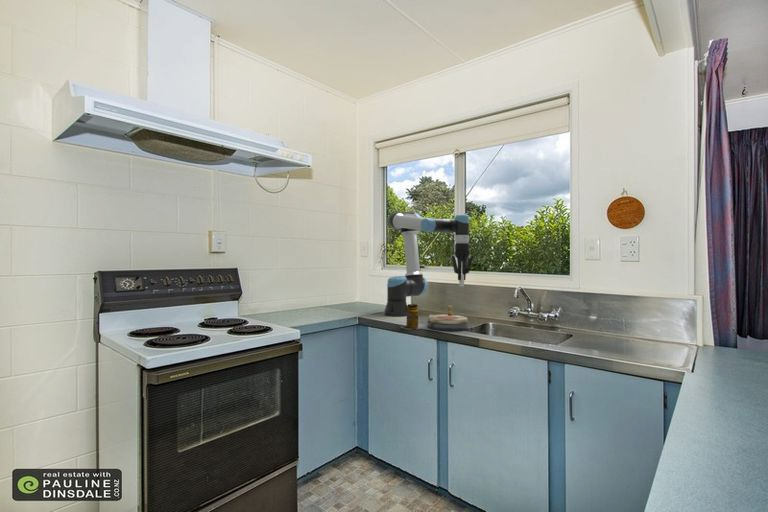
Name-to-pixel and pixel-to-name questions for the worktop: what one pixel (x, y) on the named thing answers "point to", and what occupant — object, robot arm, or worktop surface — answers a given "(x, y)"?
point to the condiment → (412, 317)
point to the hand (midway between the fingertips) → (461, 286)
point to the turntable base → (447, 326)
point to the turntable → (448, 318)
